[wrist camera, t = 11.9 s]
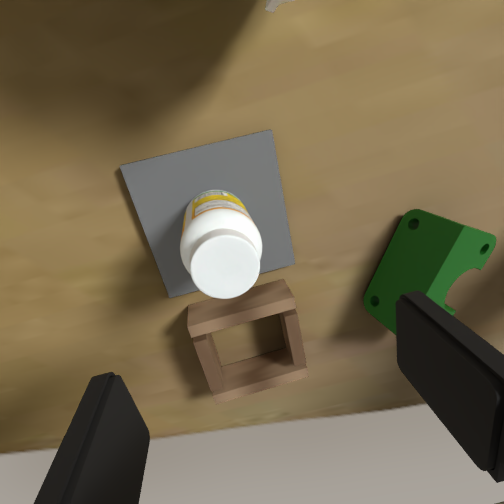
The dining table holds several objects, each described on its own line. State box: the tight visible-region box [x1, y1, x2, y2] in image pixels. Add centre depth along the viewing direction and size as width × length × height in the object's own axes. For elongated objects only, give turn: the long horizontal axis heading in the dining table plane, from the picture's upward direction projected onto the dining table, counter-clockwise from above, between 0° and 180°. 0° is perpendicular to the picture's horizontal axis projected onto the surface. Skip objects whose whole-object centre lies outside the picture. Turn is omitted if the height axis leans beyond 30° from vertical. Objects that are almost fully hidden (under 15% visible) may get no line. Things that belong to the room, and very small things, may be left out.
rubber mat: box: [120, 130, 295, 298], centre depth 26 cm, size 12×12×1 cm
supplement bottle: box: [180, 190, 262, 299], centre depth 22 cm, size 5×5×10 cm
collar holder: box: [187, 279, 309, 404], centre depth 30 cm, size 10×10×4 cm
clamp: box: [364, 209, 496, 335], centre depth 30 cm, size 12×6×9 cm, turn 157°
